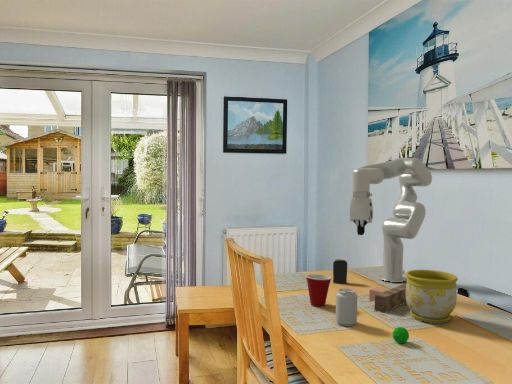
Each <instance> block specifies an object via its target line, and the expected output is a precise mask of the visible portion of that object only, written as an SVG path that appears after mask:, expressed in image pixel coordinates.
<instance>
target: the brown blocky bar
mask: <svg viewBox="0 0 512 384" xmlns="http://www.w3.org/2000/svg"><path fill="white" fill-rule="evenodd" d="M406 285H407V282H404V283H403V284H401V285H399V286H395V287H392V288H391V289H388V290H387V291H385V292H382V293H380V294H377V295H375V302H374V311H375V310H376V311H375V312H379V311H380V312H379V313H383V312H385V313H387V312H388V311H387V310H389V311H391V310H393V309H395V308H397V307H399V306H398V305H400V304H402V305H404V304H405V303H406V304H407V301H406ZM403 303H404V304H403ZM396 306H397V307H396ZM400 306H401V305H400ZM394 307H395V308H394ZM392 308H393V309H392ZM390 309H391V310H390ZM386 311H387V312H386Z"/></svg>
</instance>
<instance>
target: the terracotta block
mask: <svg viewBox="0 0 512 384" xmlns="http://www.w3.org/2000/svg"><path fill="white" fill-rule="evenodd" d="M387 290H389V289H387V288H383V287H377V286H376V287H373V288H370V289H369V294H368V295H369V296H368V297H369V299H368V301H369V300H370V301H369V302H372V301H375V295H377V294H380V293H382V292H385V291H387Z"/></svg>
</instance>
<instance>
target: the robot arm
mask: <svg viewBox="0 0 512 384" xmlns="http://www.w3.org/2000/svg"><path fill="white" fill-rule="evenodd" d="M396 177H398V181H399V187H400V195H399V197H398V199H397V201H396V203H395V204H394V205H395V206H394V207H393V210H392V215H393V217H388V218H386V219H384V221H383V222H382V225H381V227H382V228H381V230H382V235H383V260H382V261H383V262H382V263H383V265H382V274H381V275H380V276H379V280H380V279H381V280H380V281H382V280H384V281H383V282H385V281H390V282H389V283H392V282H402V283H404V282H403V281H405V280H407V278H406V277H403V275H404V274H406V271H405V269H403V268H404V243H403V241H402V239H406V240H413V239H415V238H416V236H417V235H418V233H419V230H420V229H421V226H422V225H423V222H424V220H425V218H426V211H427V210H426V207H425V205H424V204H423V203H421V202H418V201H417V200H418V195H417V192H416V190H415V189H414V187H429V186H430V185H431V184H432V181H433V176H432V173H431V171H430V169H429V168H428V167H427V166H426V165H425V163H423V161H422V160H421V159H419V158H417V157H398V158H395V159H391V160H388V161H384V162H379V163H373V164H370V165H365V166H360V167H358V168H355V169H353V171H352V198H351V199H350V204H349V206H350V207H349V220H350V222H352V223H354V224H355V226H356V232H357V235H358V236H363V235H364V234H365V228H366V226H367V224H371V223H373V219H374V207H373V201H372V198H370V197H372V196H373V194H372V193H371V191H370V185H379V184H380V183H383V181H384V180H389V179H393V178H396ZM405 282H406V281H405Z"/></svg>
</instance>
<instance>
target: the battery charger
mask: <svg viewBox="0 0 512 384" xmlns="http://www.w3.org/2000/svg"><path fill="white" fill-rule="evenodd" d="M347 277H348V261H347V260H346V259H340V258H339V259H336V258H335V259H334V260H333V262H332V283H333V284H335V283H336V284H347V281H348V279H347Z"/></svg>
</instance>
